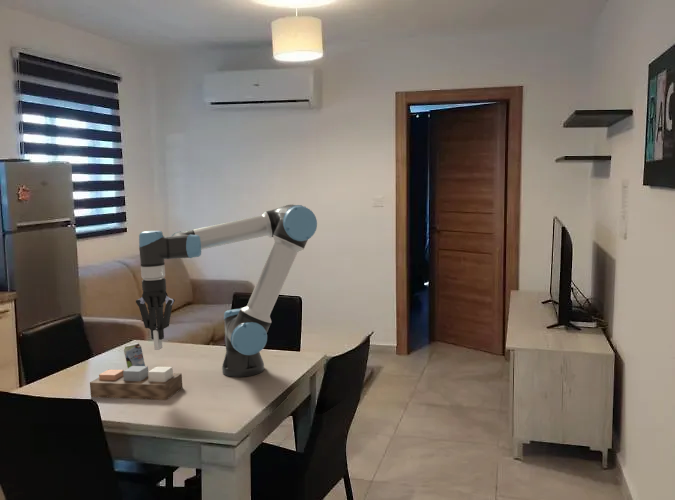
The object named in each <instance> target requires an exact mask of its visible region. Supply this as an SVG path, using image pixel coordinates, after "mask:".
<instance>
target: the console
mask: <svg viewBox="0 0 675 500" xmlns="http://www.w3.org/2000/svg"><path fill="white" fill-rule="evenodd" d="M183 387H184V386H183V375H182V373H179V372H178V373H176V372H175V373H174V372H173V377H172V378H171V379H169V380H168V381H166V382H149V378H148V377H146V378H145V379H143V380H142V381H124V376H122V377H121V378H119V379H117V380H99V377H97V378H96V379H93V380H92V381H89V389H90V390H89V391H90V398H99V397H100V398H99V399H102V398H103V399H104V398H105V399H126V400H127V399H131V400H132V399H133V400H151V401H152V400H156V401H157V400H158V401H167V400H169V398H171V397H173V395H175V394H176V393H177V392H179V391H181V390H182V389H183Z"/></svg>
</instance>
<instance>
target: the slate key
mask: <svg viewBox="0 0 675 500" xmlns="http://www.w3.org/2000/svg"><path fill="white" fill-rule="evenodd" d="M123 370H124V371H123V376H124V381H142V380H143V379H145V378H146V377H148V372H149V366H148V365H145V366H131V367H129V368H128V367H127V368H126V369H123Z"/></svg>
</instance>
